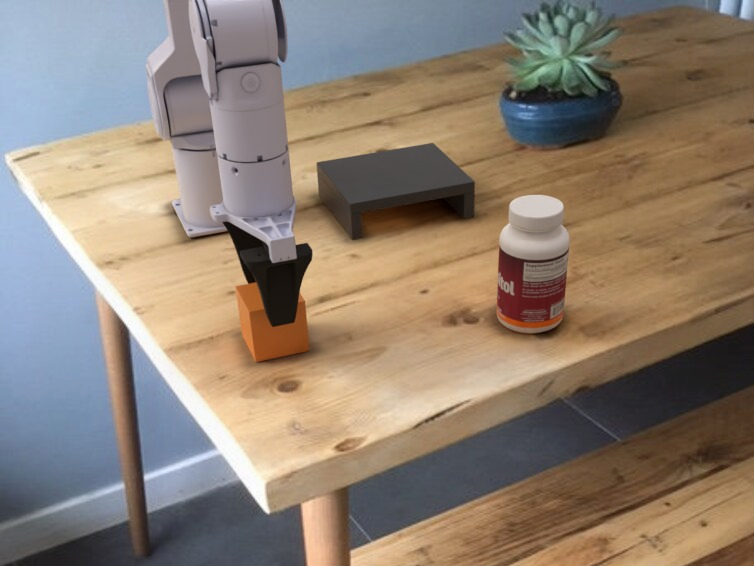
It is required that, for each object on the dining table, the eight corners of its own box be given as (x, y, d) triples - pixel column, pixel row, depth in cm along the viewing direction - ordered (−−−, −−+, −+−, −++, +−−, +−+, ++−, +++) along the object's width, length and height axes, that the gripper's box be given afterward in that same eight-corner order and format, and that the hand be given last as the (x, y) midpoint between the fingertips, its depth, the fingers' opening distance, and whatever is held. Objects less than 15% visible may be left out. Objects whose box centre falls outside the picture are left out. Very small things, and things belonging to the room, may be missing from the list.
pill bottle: (490, 304, 98) (494, 192, 91) (555, 299, 99) (564, 187, 92) (502, 338, 94) (507, 223, 87) (569, 333, 94) (580, 217, 87)
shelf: (318, 196, 118) (316, 162, 115) (433, 176, 121) (433, 142, 119) (352, 240, 110) (350, 203, 107) (474, 217, 113) (475, 181, 110)
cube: (242, 335, 95) (235, 286, 92) (294, 324, 97) (289, 275, 93) (255, 362, 92) (248, 312, 89) (309, 350, 93) (305, 300, 90)
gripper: (184, 126, 87) (208, 275, 96) (224, 192, 76) (246, 351, 85) (266, 114, 89) (282, 261, 97) (315, 176, 78) (328, 334, 87)
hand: (270, 302), depth 91 cm, fingers open, 7 cm apart
